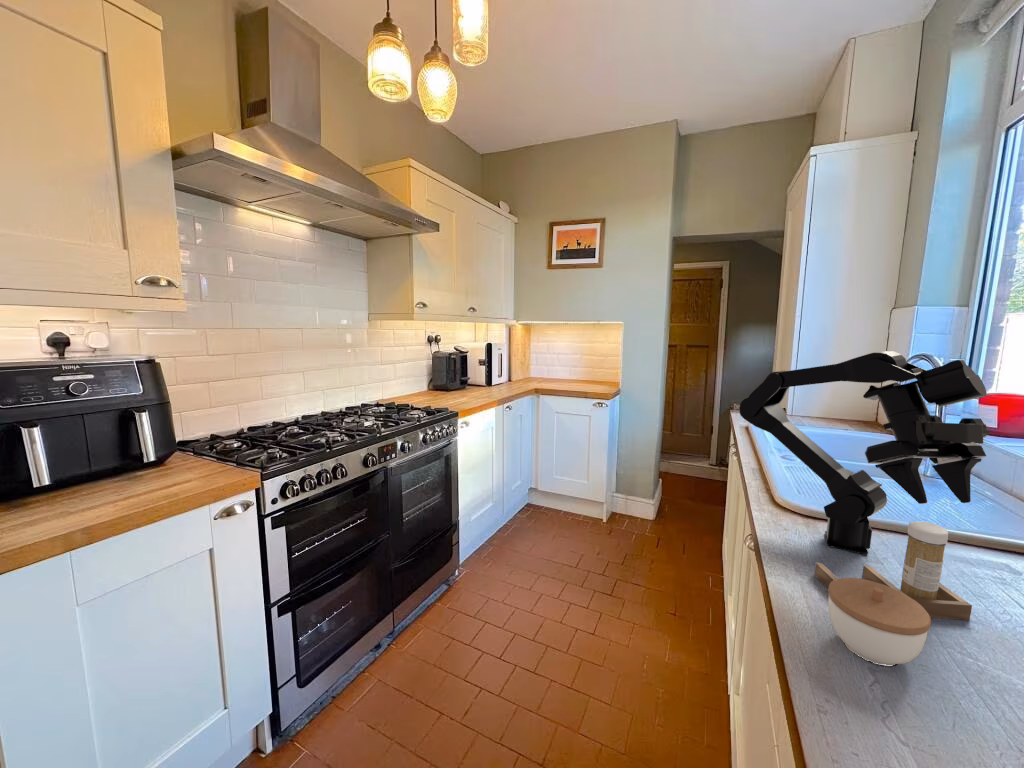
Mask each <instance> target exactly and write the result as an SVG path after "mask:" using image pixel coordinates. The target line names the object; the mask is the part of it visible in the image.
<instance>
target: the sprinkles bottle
mask: <svg viewBox="0 0 1024 768" xmlns="http://www.w3.org/2000/svg"><path fill="white" fill-rule="evenodd" d="M907 536H908V537H907V544H906V552H905V555H904V559H903V560H904V561H903V567H902V574H901V583H900V588H899V590H901V591H902V592H903V593H904V594H906V595H907V596H909V597H910V598H912V599H926V600H936V596H937V591H938V588H939V583H941V581H940V580H941V576H942V575H941V574H942V569H943V565H944V564H943V563H944V555H945V554H944V553H945V547H946V546H947V543H948V538H949V532H948V530H947V529H946V528H944V527H943V526H941V525H939V524H935V523H933V522H932V523H931V522H929V521H923V520H911V521H909V522H908V526H907Z"/></svg>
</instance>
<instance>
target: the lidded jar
mask: <svg viewBox="0 0 1024 768" xmlns="http://www.w3.org/2000/svg"><path fill="white" fill-rule="evenodd" d="M837 578H838V577H837ZM827 590H828V602H827V606H828V607H827V608H828V617H829V619H830V620H829V621H830V622H831V625H832V627H833V630H834V631H835V633H836V634H837V636H838V637H839V639H840V640H841V641H843V643H845V644H844V645H845V647H846V648H847V649H848V650H849V651H850V652H851V651H852V652H851V653H853V654H854V653H855V654H857V655H859V656H860V657H863V658H864V659H866V660H869V661H871V662H874V663H878V664H886V665H894V664H898V665H902V664H907V663H909V662H911V661H913V660H914V659H915V658H917V656H919V655H920V653H921V652H922V651H923V648H924V647H925V644H926V642H927V638H928V631H929V629H930V627H931V620H932V619H931V617H930V616H929V614H928V613H927V611H926V610H925V609H924V608H923V607H922V606H921V605H920V604H919V603H918V602H916V601H915V600H913V599H912V598H910V597H909V596H907V595H905V594H903V593H901V592H900V591H898V590H895V589H893V588H891V587H888V586H886V585H883V584H880V583H877V582H873V581H870V580H865V579H863V578H859V577H849V576H847V577H839V578H838V579H835V580H833V581H832V582H831V583H830V584H829V589H827ZM855 654H854V655H855ZM857 655H856V656H857ZM860 657H859V658H860ZM864 659H863V660H864ZM866 660H865V661H866Z"/></svg>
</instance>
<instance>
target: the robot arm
mask: <svg viewBox="0 0 1024 768" xmlns="http://www.w3.org/2000/svg"><path fill="white" fill-rule="evenodd" d="M915 379H916V380H915ZM913 380H915V381H913ZM889 381H892V382H893V383H890V384H885V385H883V386H879V387H878V386H876V385H872V384H880V383H885V382H889ZM906 381H911V382H908V383H904V384H901V383H902V382H906ZM834 382H848V383H849V382H851V383H864V384H865V383H866V384H869V383H870V384H871V385H869V386H868V387H869V388H868V389H867V390H866V391H865V393H864V394H863V396H862V397H863V398H864V399H868V400H870V401H871V400H872V401H877V400H879V402H880V405H881V407H882V409H883V410H882V411H883V412H884V414H885V417H886V419H887V423H883V424H882V425H883V428H884V430H885V431H887V430H888V431H891V432H892V435H893V437H894V439H895V440H893V439H891V440H889V441H884V442H882V443H877V444H873V445H870V446H867V448H866V449H865V451H864V456H865V458H866V461H867V464H874V466H875V468H876V469H879V470H881V471H882V472H883V473H884V474H886V475H887V476H888V477H890V479H892V480H893V481H894V482H895V483H896V484H898V486H899V487H901V488H902V489H903V490H904V491H905V492H906V493H907V494H908V495H909V496H910V497H911V498H912V499H914V500H915V501H916V502H917V503H918V504H921V505H922V504H927V503H928V499H927V494H926V491H925V488H924V484H923V481H922V477H921V475H920V472H919V469H920V466H921V464H922V462H923V459H924V458H925V459H929V460H930V461H931V462H932V463H933V465H931V467H932V468H933V470H934V471H935V472H936V473H937V474H938V476H939V477H940V479H942V481H943V482H944V484H946V486H947V487H948V489H949V490H950V491H951V492H952V494H953V495H954V496H955V497H956V499H957V500H959V502H961V503H962V504H967V503H968V504H969V503H971V502H972V501H971V473H972V470H973V468H974V467H975V466H976V465H977V464H978V463H981V462H982V459H983V458H986V457H987V454H986V452H985V450H984V448H983V446H982V445H983V444H984V438H985V437H986V436H988V435H989V434H990V433H991V431H990V429H988V427H987V424H986V423H984V421H983V420H982V418H975V417H973V418H970V417H969V418H968V417H962V418H961V419H960V421H959V423H958V422H955V423H954V422H953V423H952V422H943V420H942V418H941V417H940V416H938V415H937V414H935V415H934V414H933V415H932V414H930V411H929V409H928V407H927V405H926V403H928V404H933V403H934V404H935V405H936V406H938V407H940V408H941V407H945V406H949V405H953V404H958V403H962V402H966V401H971V400H974V399H979V398H982V397H986V396H987V389H986V386H985V384H984V382H983V380H982V379H981V377H980V375H979V374H976V372H975V371H974V370H973V369H972V368H971V367H970V366H968V364H966V362H965V360H964V358H963V359H962V358H959V359H955V360H952V361H949V362H947V363H945V364H943V365H940V366H936V367H934V368H930V369H925V368H923V367H920V366H918V365H916V364H913V363H910V362H908V361H907V359H906V358H905V356H903V354H901V353H899V352H897V351H894V350H885V351H877V352H870V353H867V354H864V355H863V354H862V355H860V356H857V357H854V358H850V359H847V360H845V361H842V362H839V363H833V364H828V365H827V364H825V365H820V366H813V367H807V368H798V369H792V370H778V371H773V372H770V373H769V374H768V375H767V376H766V378H765V379H763V382H762V383H761V384H759V385H758V386H757V387H756V388H755V389H754V390H753V391H752V392H751V393H750V394H749V396H748V397H747V398H744V399H743V400H741V402H740V404H739V409H738V410H739V414H740V416H741V417H742V419H744V420H745V421H746V422H748V423H749V424H751V425H752V426H754V427H756V428H758V429H760V430H763V431H765V432H767V433H769V434H771V435H772V436H773V437H774V438H776V439H777V441H779V442H780V443H781V444H782V445H783V446H784V447H785V448H786V449H788V450H789V451H790V452H791V453H792V454H793V455H794V456H795V457H796V458H798V459H799V460H800V461H801V462H802V463H803V464H804V465H805V466H806V467H807V468H809V469H810V470H811V471H812V472H813V473H814V474H815V475H817V476H818V478H820V480H822V481H823V482H824V484H825V485H826V487H827V489H828V492H829V493H830V496H831V497H832V499H833V500H834V501H832V502H830V503H828V504H826V505H825V506H823V509H824V514H825V516H826V518H827V526H826V530H825V531H824V535H825V542H826V543H825V544H826V546H828V547H830V548H836V549H840V550H844V551H848V552H853V553H857V554H861V555H866V556H867V555H868V553H869V552H868V550H869V549H871V542H872V537H873V536H872V534H873V529H872V527H871V526H872V525H870V521H869V518H868V517H871V516H872V515H874V514H876V513H878V512H879V511H881V510H883V508H885V507H886V506H887V502H888V499H887V496H888V495H887V493H886V491H885V490H884V489H883V488H882V486H883V484H882V483H880V482H877V481H876V480H875V479H873V478H872V477H871V476H870V475H869V474H868V472H866V471H865V470H864V469H860V470H858V471H856V472H854V471H851V470H849V469H847V468H846V467H844V466H843V465H841V464H840V463H839V462H838V461H837V460H836V459H835V458H834V457H832V456H831V455H830V454H829V453H828V452H826V451H825V450H824V449H823V448H822V447H821V446H819V445H818V444H817V443H816V442H815V441H814V440H812V439H811V438H810V437H809V436H807V434H805V433H804V432H803V431H802V430H800V429H799V427H797V426H796V425H795V424H793V422H791V421H790V420H789V419H788V416H787V414H786V412H785V410H784V408H783V407H782V406H781V405H780V404H781V402H782V401H783V399H784V398H785V396H786V394H787V391H788V389H790V387H801V386H808V385H816V384H817V385H818V384H819V385H820V384H825V383H827V384H828V383H834ZM924 400H925V401H926V403H925V401H924Z"/></svg>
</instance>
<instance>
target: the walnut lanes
mask: <svg viewBox="0 0 1024 768" xmlns="http://www.w3.org/2000/svg"><path fill="white" fill-rule="evenodd" d="M814 566H815V567H814V575H813V576H814V577H816V579H817V580H818V581H820V582H821V584H822V585H823V586H824V587H825V588H826V589H827V590H828V589H829V584H830V583H831V582H832V581H833V580H835V579H838V577H837V576H836V575H835V574H834V573H833V572H832V571H831V570H830V569H828V567H826V566H825V564H823V563H822V562H815V564H814ZM862 566H863V567H862V574H861V579H865V580H870V581H873V582H877V583H880V584H883V585H886V586H888V587H891V588H893V589H895V590H898V591H900V592H901V593H903V592H902V591H901V590H900V588H898V587H897V586H896V585H895V584H893V583H892V582H891V581H889V580H888V579H887V578H886V577H885V576H883V575H882V574H881V573H879V572H878V571H877V570H876V569H874V567H872V566H871V565H868V564H864V565H862ZM903 594H904V593H903ZM905 595H906V594H905ZM913 600H915V601H916V602H918V603H919V604H920V605H921V606H922V607H923V608H924V609H925V610H926V611H927V613H928V614H929V616H930V618H934V619H947V618H948V619H950V620H961V621H962V620H966V621H971V620H970V619H971V615H972V608H973V605H972V604H971V603H969V602H968V601H967V600H965V599H963V598H962V597H961V596H959V595H958V594H957V593H955V592H953V591H952V590H951V589H949V588H948V587H947V586H945V585H943V584H942V583H941V582H939V588H938V591H937V596H936V600H926V599H913Z"/></svg>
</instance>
